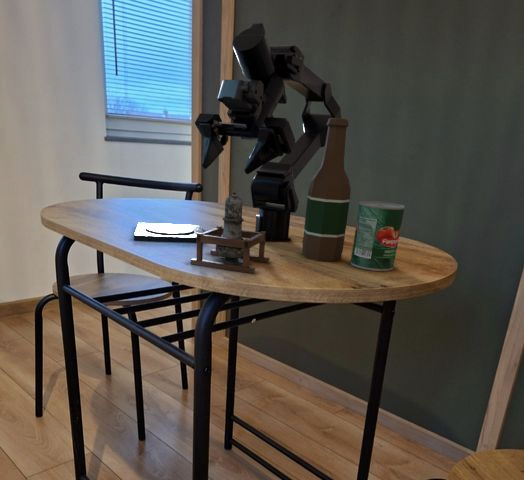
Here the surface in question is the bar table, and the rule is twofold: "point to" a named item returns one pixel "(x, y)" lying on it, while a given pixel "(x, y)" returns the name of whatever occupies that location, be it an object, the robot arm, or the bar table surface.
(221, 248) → the salt shaker
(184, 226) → the plate
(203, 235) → the brown wooden stand
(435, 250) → the bar table surface
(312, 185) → the beer bottle
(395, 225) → the canned tomato
